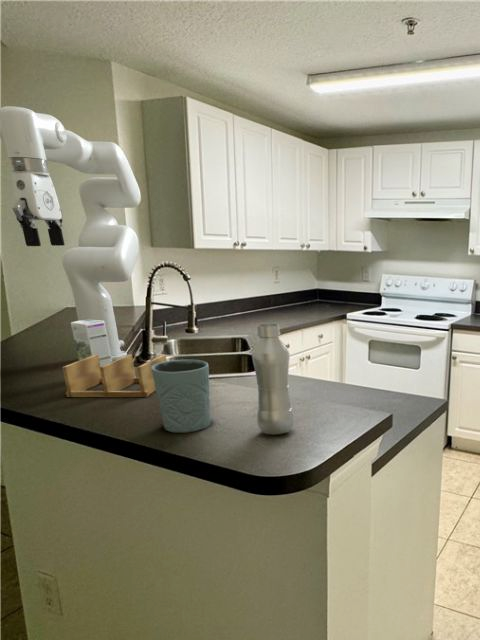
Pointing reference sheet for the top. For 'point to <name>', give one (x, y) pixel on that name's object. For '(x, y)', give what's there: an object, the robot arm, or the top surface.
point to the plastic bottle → (272, 381)
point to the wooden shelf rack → (109, 377)
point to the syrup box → (91, 340)
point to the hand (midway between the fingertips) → (46, 245)
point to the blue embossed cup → (183, 394)
